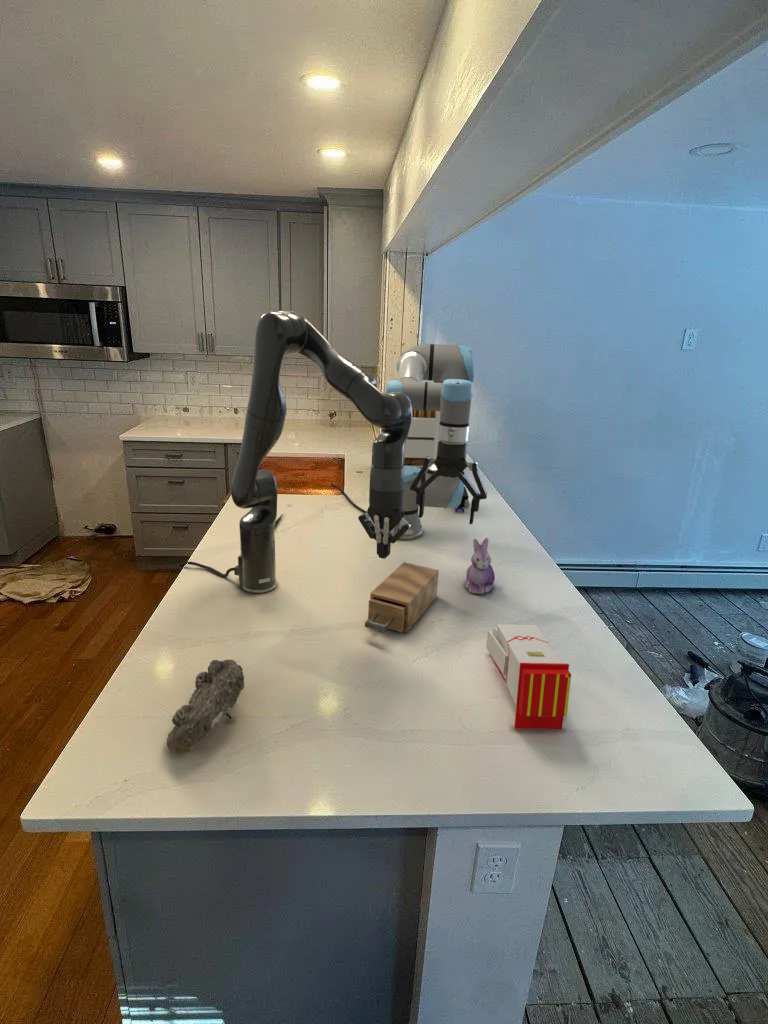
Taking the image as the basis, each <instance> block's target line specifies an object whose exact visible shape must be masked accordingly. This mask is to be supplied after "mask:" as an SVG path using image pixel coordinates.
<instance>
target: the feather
mask: <svg viewBox="0 0 768 1024" xmlns="http://www.w3.org/2000/svg"><path fill="white" fill-rule="evenodd" d="M283 515H284V513H282V514H281V515H280V516H279V517H278V518H277V519H276V521H275V529H276V528H277V526H278V525H279V522H280V520H281V519H282V517H283Z"/></svg>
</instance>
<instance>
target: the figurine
mask: <svg viewBox="0 0 768 1024" xmlns="http://www.w3.org/2000/svg"><path fill="white" fill-rule="evenodd" d="M472 544H473V553H472V555H471V559H470V561H471V565H470V566H469V567H468V568H467V570H466V579H465V587H466V589H467V590H468V592H469V593H472V594H476V595H477V594H478V595H483V594H485V593H489V592H490V591H491V590H492V589H493V588H494V587H493V586H494V584H495V579H496V577H495V576H496V575H495V570H494V568H493V566H492V565H491V562H492V559H491V555H490V553H489V550H488V547H489V538H488V537H485V538H484V539H483V541H482V543H481V544H480V543H479V540H478V539H477V538H473V540H472Z"/></svg>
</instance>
